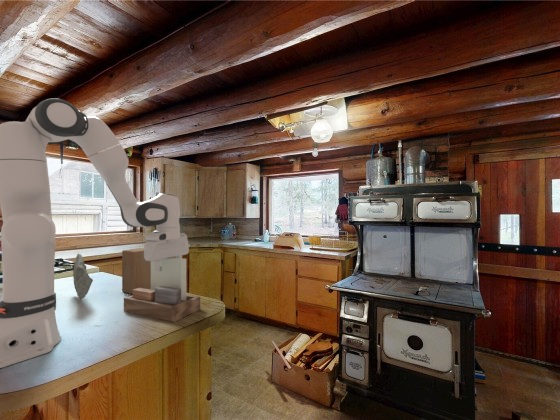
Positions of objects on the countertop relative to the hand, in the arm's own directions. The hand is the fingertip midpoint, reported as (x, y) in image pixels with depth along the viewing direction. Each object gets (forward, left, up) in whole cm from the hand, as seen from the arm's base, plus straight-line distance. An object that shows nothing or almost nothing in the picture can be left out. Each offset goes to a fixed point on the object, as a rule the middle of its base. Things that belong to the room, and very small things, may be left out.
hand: (168, 268), depth 112 cm
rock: (-8, +43, -16) cm, 47 cm away
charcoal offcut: (-6, -6, -16) cm, 18 cm away
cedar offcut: (-6, +6, -16) cm, 18 cm away
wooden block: (+12, +32, -16) cm, 38 cm away
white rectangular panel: (0, 0, -16) cm, 16 cm away
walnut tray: (-3, 0, -16) cm, 16 cm away
